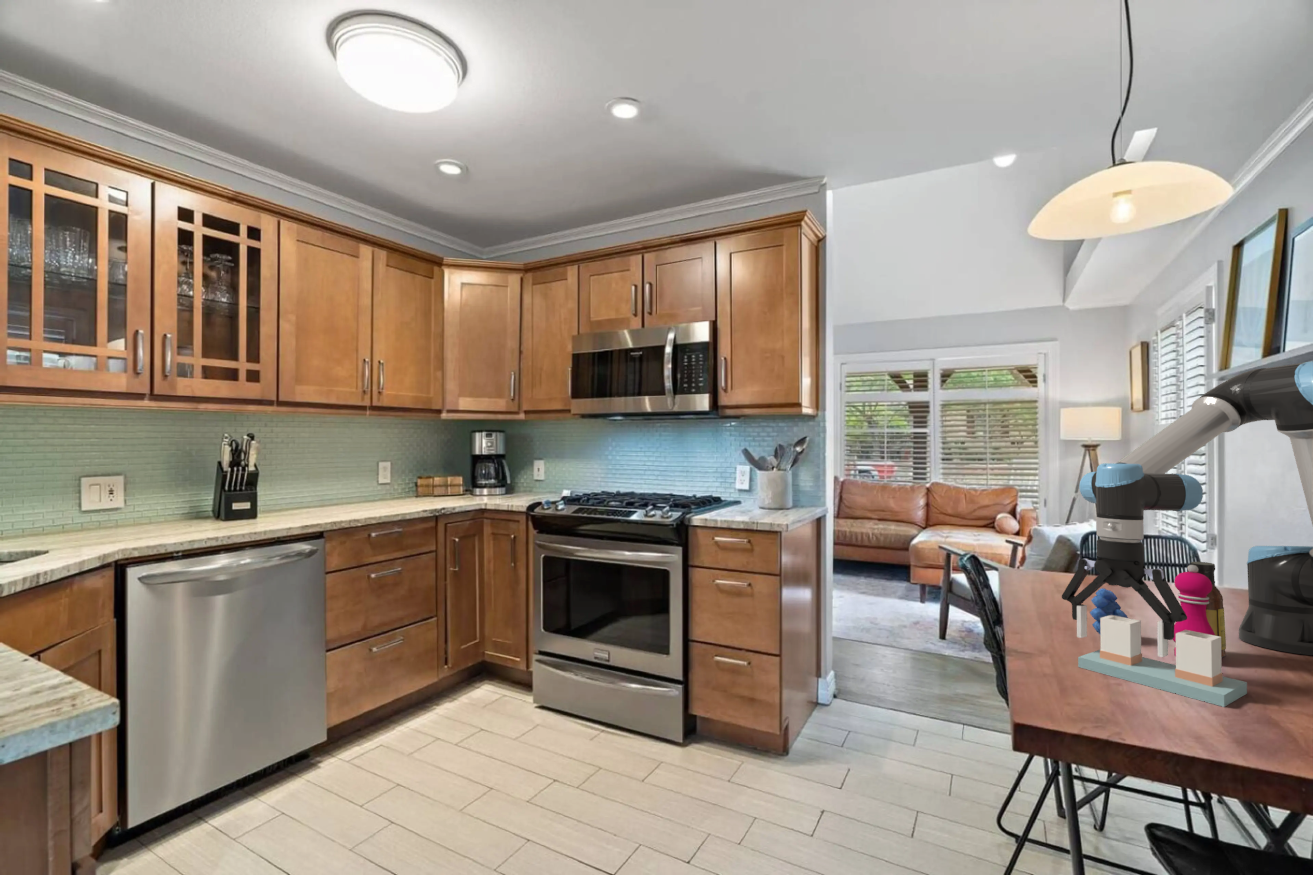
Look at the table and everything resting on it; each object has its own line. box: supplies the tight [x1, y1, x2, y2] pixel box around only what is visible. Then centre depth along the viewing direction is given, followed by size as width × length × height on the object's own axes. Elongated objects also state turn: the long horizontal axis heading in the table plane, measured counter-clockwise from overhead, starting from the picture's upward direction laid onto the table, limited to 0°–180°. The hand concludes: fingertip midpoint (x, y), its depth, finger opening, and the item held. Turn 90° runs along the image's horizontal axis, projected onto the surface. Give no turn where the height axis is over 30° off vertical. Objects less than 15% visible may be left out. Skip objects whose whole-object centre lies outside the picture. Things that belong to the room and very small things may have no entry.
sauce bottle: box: [1189, 561, 1227, 658], centre depth 130 cm, size 7×6×20 cm
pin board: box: [1077, 648, 1248, 708], centre depth 114 cm, size 12×22×6 cm, turn 32°
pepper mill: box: [1172, 564, 1215, 658], centre depth 126 cm, size 7×7×20 cm
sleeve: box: [1099, 615, 1143, 666], centre depth 119 cm, size 5×5×8 cm
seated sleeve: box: [1175, 630, 1224, 687], centre depth 109 cm, size 5×5×8 cm
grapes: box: [1089, 587, 1129, 637], centre depth 139 cm, size 12×7×12 cm, turn 123°
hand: (1120, 645), depth 119 cm, fingers open, 13 cm apart
